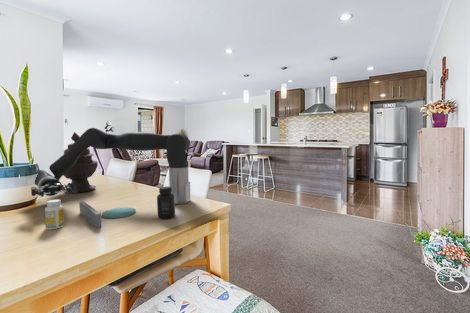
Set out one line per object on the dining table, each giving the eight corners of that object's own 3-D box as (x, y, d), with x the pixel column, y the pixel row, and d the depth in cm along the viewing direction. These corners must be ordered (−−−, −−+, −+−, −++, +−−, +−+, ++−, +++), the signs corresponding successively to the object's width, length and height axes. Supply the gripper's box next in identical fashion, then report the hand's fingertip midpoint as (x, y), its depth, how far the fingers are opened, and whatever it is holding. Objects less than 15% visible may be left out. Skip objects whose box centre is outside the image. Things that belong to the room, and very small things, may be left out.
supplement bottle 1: (48, 231, 86) (46, 203, 85) (44, 227, 89) (42, 201, 88) (66, 226, 90) (64, 200, 89) (61, 223, 93) (60, 198, 93)
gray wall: (79, 213, 105) (79, 201, 105) (83, 212, 106) (83, 200, 106) (96, 228, 88) (95, 214, 88) (101, 227, 89) (100, 213, 89)
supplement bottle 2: (178, 215, 102) (177, 186, 101) (168, 220, 96) (168, 189, 95) (164, 213, 105) (163, 185, 103) (153, 218, 98) (152, 188, 97)
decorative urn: (104, 184, 161) (98, 130, 155) (95, 194, 141) (87, 132, 135) (69, 187, 156) (61, 131, 150) (54, 198, 137) (44, 134, 131)
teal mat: (141, 209, 110) (141, 208, 110) (123, 219, 97) (123, 218, 97) (115, 208, 112) (115, 206, 112) (94, 217, 100) (93, 216, 100)
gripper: (28, 179, 104) (32, 185, 93) (68, 175, 114) (76, 180, 102) (29, 196, 105) (33, 205, 93) (69, 191, 115) (77, 198, 103)
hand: (56, 192), depth 98 cm, fingers open, 8 cm apart
